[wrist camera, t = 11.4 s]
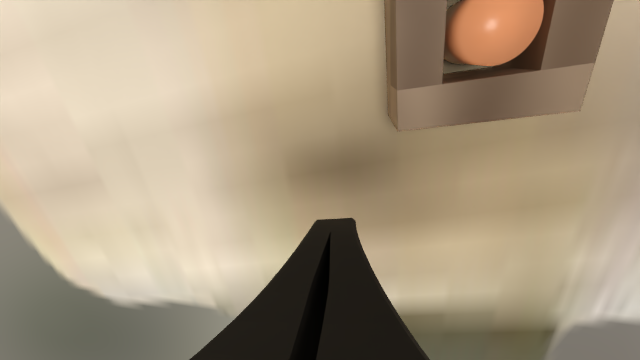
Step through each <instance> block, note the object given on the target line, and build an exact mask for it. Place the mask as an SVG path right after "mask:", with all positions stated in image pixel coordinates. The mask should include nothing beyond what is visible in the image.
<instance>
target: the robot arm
mask: <svg viewBox="0 0 640 360" xmlns="http://www.w3.org/2000/svg"><path fill="white" fill-rule="evenodd" d="M190 360H430V359H429V358H428V357H427V355H426V354H425V353H424V351H423V350H422V348H421V347H420V346H419V344H418V343H417V342H416V340H415V339H414V337H413V336H412V334H411V333H410V331H409V330H408V328H407V327H406V325H405V324H404V322H403V321H402V319H401V318H400V316H399V315H398V313H397V312H396V310H395V308H394V307H393V305H392V304H391V302H390V300H389V299H388V297H387V295H386V294H385V292H384V290H383V288H382V287H381V285H380V283H379V281H378V279H377V277H376V276H375V274H374V272H373V270H372V268H371V266H370V264H369V261H368V259H367V257H366V255H365V253H364V250H363V248H362V245H361V243H360V240H359V237H358V234H357V230H356V222H355V220H354V219H353V218H343V219H325V220H317V221H316V222H315V223H314V224H313V226H312V227H311V229H310V230H309V232H308V233H307V234H306V236H305V237H304V239H303V240H302V242H301V243H300V244H299V246H298V247H297V249H296V250H295V251H294V252H293V254H292V255H291V256H290V258H289V259H288V260H287V262H286V263H285V264H284V266H283V267H282V268H281V269H280V270H279V272H278V273H277V274H276V275H275V276H274V278H273V279H272V280H271V281H270V282H269V283H268V285H267V286H266V287H265V288H264V289H263V290H262V291H261V293H260V294H259V295H258V296H257V297H256V298H255V299H254V300H253V301H252V302H251V303H250V304H249V305H248V306H247V307H246V308H245V309H244V310H243V311H242V312H241V313H240V314H239V315H238V316H237V317H236V318H235V319H234V320H233V321H232V322H231V323H230V324H229V325H228V326H227V327H226V328H225V329H224V330H223V331H221V332H220V333H219V334H218V335H217V336H216V337H215V338H214V339H213V340H211V341H210V342H209V343H208V344H207V345H206V346H205V347H204V348H203V349H201V350H200V351H199V352H198V353H197V354H196V355H194V356H193V357H192V358H191V359H190Z"/></svg>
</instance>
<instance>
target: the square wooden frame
mask: <svg viewBox="0 0 640 360" xmlns="http://www.w3.org/2000/svg"><path fill="white" fill-rule="evenodd" d="M613 1H614V0H543V4H544V13H543V19H542V23H541V26H540V28H539V30H538V32H537V34H536V36H535V38H534V39H533V41H532V42H531V43H530V45H529V46H528V47H527V48H526V49H525V50H524V51H523V52H522V53H520V54H519V55H518V56H516V57H515V58H513V59H512V60H510V61H508V62H506V63H503V64H500V65H495V66H494V67H488V68H481V69H474V70H467V71H461V72H454V73H447V74H443V60H444V43H445V26H446V9H447V0H384V4H385V35H386V66H387V97H388V115H389V117H390V119H391V121H392V122H393V124H394V126H395V127H396V129H397V131H407V130H416V129H425V128H433V127H442V126H451V125H460V124H469V123H478V122H487V121H495V120H504V119H513V118H522V117H531V116H540V115H549V114H558V113H566V112H575V111H581V107H582V104H583V101H584V97H585V94H586V91H587V87H588V84H589V81H590V77H591V74H592V71H593V67H594V64H595V61H596V57H597V54H598V51H599V47H600V44H601V41H602V37H603V34H604V31H605V27H606V24H607V21H608V17H609V14H610V11H611V7H612V4H613Z"/></svg>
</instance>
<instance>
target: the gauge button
mask: <svg viewBox="0 0 640 360" xmlns="http://www.w3.org/2000/svg"><path fill="white" fill-rule="evenodd" d="M543 13H544V4H543V0H460V1H459V2H457V3H455V4H454V5H452V6H451V7H450V8H449V9H448V10H447V11H446V26H445V43H444V59H445V60H447V61H448V62H451V63H457V64H469V65H481V66H495V65H500V64H503V63H506V62H508V61H510V60H512V59H513V58H515V57H516V56H518V55H519V54H520V53H522V52H523V51H524V50H525V49H526V48H527V47H528V46H529V45H530V43H531V42H532V41H533V39H534V38H535V36H536V34H537V32H538V30H539V28H540V26H541V23H542V19H543Z"/></svg>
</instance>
